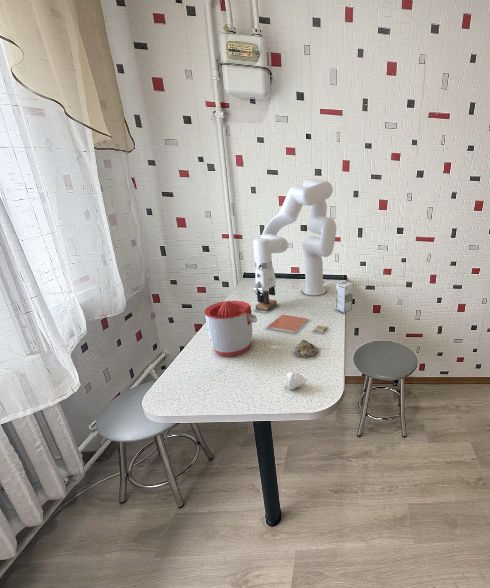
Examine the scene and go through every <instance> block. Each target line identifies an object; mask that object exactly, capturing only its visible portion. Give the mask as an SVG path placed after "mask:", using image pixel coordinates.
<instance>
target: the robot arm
mask: <svg viewBox="0 0 490 588" xmlns="http://www.w3.org/2000/svg"><path fill="white" fill-rule="evenodd" d="M333 192H334V188H333V186H332V184H331V182H330V181H327V180H323V179H321V180H320V179H314V178H313V179H312V178H309V179H305V180H304V181H303V183H302V185H293V186H291V187H290V188H289V190H288V191H287V193H286V195H285V198H284V201H283V202H282V205H281V207H280V210H279V212H278V213H277V214H276V215H275V216H274V217H272V219H270V221H268V222H267V223H266V225H265V227H264V229H263V231H262V234H261V236H260V237H257V238H254V239H253V241H252V247H253V256H254V266H255V267H254V268H255V285H254V287H253V291H254V294H255V295H256V300H257V302H258V303H264V295H263V292H264V291H265V290H267V291H269V296H276V284H277V283H276V281H277V277H276V274H275V269H274V266H273V256H272V254H280V253H282V254H283V253H285V252H286V251H287V250H288V248H289V242H288V240H287V239H286V238H284V237H282V236H279V235H278V233H279V232H280V230H281V229H283V228H284V227H287V226H288V225H291V224H293V223H295V222H296V221H297V220H298V218H299V214H300V213H301V211H302V208H303V206H306V207H310V209H309V215H308V222H307V228H308V230H309V232H310V233H313V234H316V235H307V236H305V237H304V238H303V240H302V245H301V246H302V247H301V248H302V251H303V255H304V278H305V279H304V281H305V287H303V289H302V293H303V294H304V295H307V296H320V295H323V294H325V293H326V291H327V290H326V288H325V287H324V284H325V281H324V274H323V273H324V269H323V268H324V262H323V258H328V257H330V256H331V255H332V253H333V251H334V248H335V241H336V234H337V223H336V221H335V219H333V218H332V217H329V216H327V211H328V204H327V200H329V198H330V197H331V196H332V195H333ZM317 235H320V236H317ZM322 257H323V258H322Z"/></svg>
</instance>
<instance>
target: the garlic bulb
mask: <svg viewBox="0 0 490 588" xmlns="http://www.w3.org/2000/svg"><path fill="white" fill-rule="evenodd" d="M307 381H308V378H305V377H304V376H303V375H302V374H299V372H297V371H290V372H288V373H287V375H286V388H287V389H288V390H295V389H297V388H299V387H300V386H302V385H305V384H307Z"/></svg>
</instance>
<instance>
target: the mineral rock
mask: <svg viewBox="0 0 490 588" xmlns="http://www.w3.org/2000/svg"><path fill="white" fill-rule="evenodd" d="M317 351H318V348H317V347H316V346H315V345H314V344H312V343H311V342H309V341H307V340H306V339H302V340H301V341H300V342H299V344H298V347H297V348H296V349H295V353H296V355H297V356H298V357H303V358H307V357H313V356H314V355H315V354H316V353H317Z"/></svg>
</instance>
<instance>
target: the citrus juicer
mask: <svg viewBox="0 0 490 588" xmlns="http://www.w3.org/2000/svg"><path fill="white" fill-rule="evenodd" d="M203 314H204V316H205V321H206V328H207V332H208V333H207V334H208V339H209V342H210V343H211V345H212V349H213V350H214V351H215V352H216V354H217V355H219V356H223V357H234V356H235V357H236V356H239V355H242V354H244V353H245V352H247V351H249V348H250V346H251V344H252V339H253V323H257V322H258V317H257V316H256V315H255V314H253V313H252V306H251V305H250V303H248V302H246V301H243V300H224V301H220V302H215V303H213V304H211V305H208V306H207V307H206V308H205V309H204V311H203Z"/></svg>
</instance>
